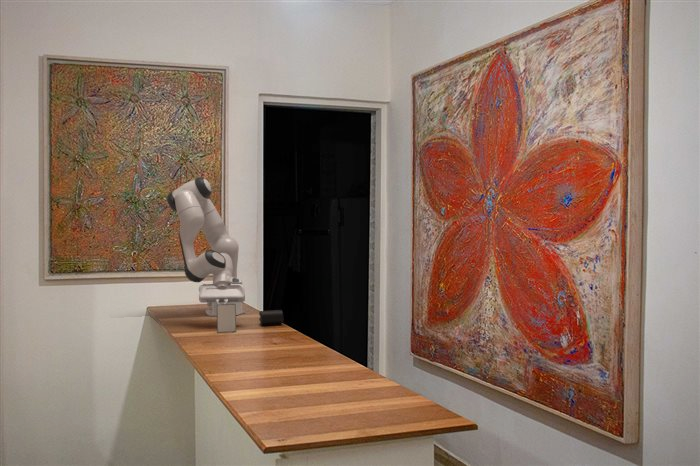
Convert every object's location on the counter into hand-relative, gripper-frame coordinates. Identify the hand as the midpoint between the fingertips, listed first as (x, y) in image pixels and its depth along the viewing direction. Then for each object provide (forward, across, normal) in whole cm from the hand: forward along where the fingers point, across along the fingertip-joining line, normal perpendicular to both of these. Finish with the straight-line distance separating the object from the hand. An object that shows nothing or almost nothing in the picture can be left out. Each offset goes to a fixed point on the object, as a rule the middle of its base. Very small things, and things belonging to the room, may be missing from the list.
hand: (221, 308), depth 322 cm
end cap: (+1, +22, +11) cm, 25 cm away
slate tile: (+12, +2, +1) cm, 12 cm away
